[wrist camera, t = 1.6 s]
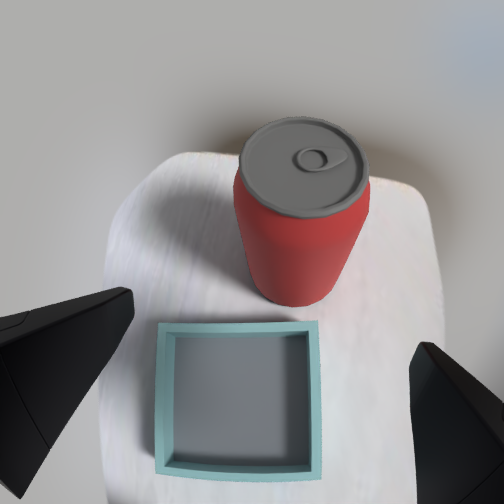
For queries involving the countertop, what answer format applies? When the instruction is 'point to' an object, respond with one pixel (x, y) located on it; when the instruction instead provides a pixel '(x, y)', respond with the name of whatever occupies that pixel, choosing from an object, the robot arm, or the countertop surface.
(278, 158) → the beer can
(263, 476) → the tray
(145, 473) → the countertop surface
